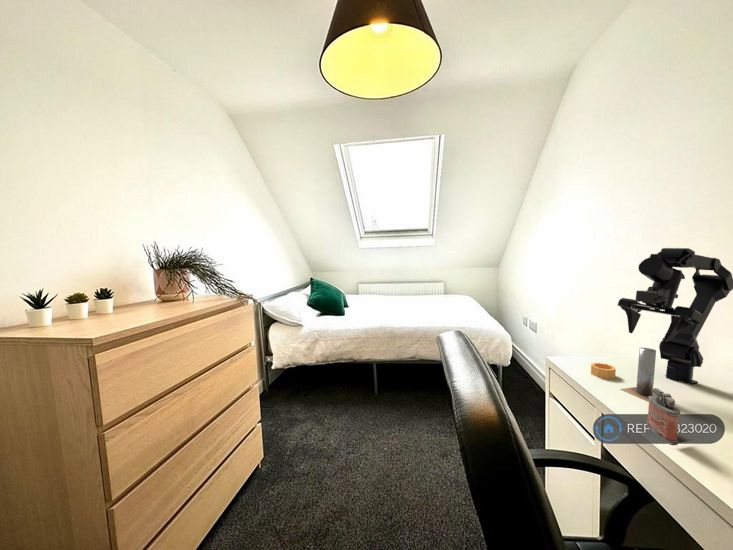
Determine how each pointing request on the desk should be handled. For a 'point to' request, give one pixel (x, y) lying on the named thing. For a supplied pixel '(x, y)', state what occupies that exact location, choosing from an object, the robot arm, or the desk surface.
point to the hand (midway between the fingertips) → (647, 336)
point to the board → (633, 392)
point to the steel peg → (646, 371)
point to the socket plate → (603, 370)
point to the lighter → (663, 416)
